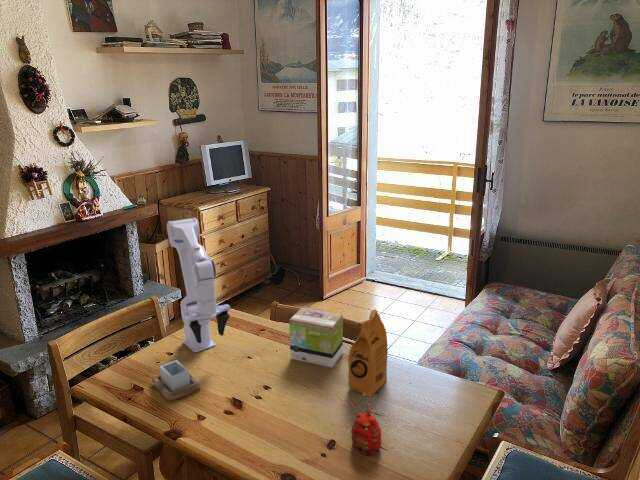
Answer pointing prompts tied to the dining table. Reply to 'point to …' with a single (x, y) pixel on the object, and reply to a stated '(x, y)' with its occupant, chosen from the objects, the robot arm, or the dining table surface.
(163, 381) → the small crate
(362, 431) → the red clay folk toy
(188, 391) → the shallow brown tray
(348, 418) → the dining table surface
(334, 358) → the tea box
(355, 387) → the coffee package
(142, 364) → the dining table surface
